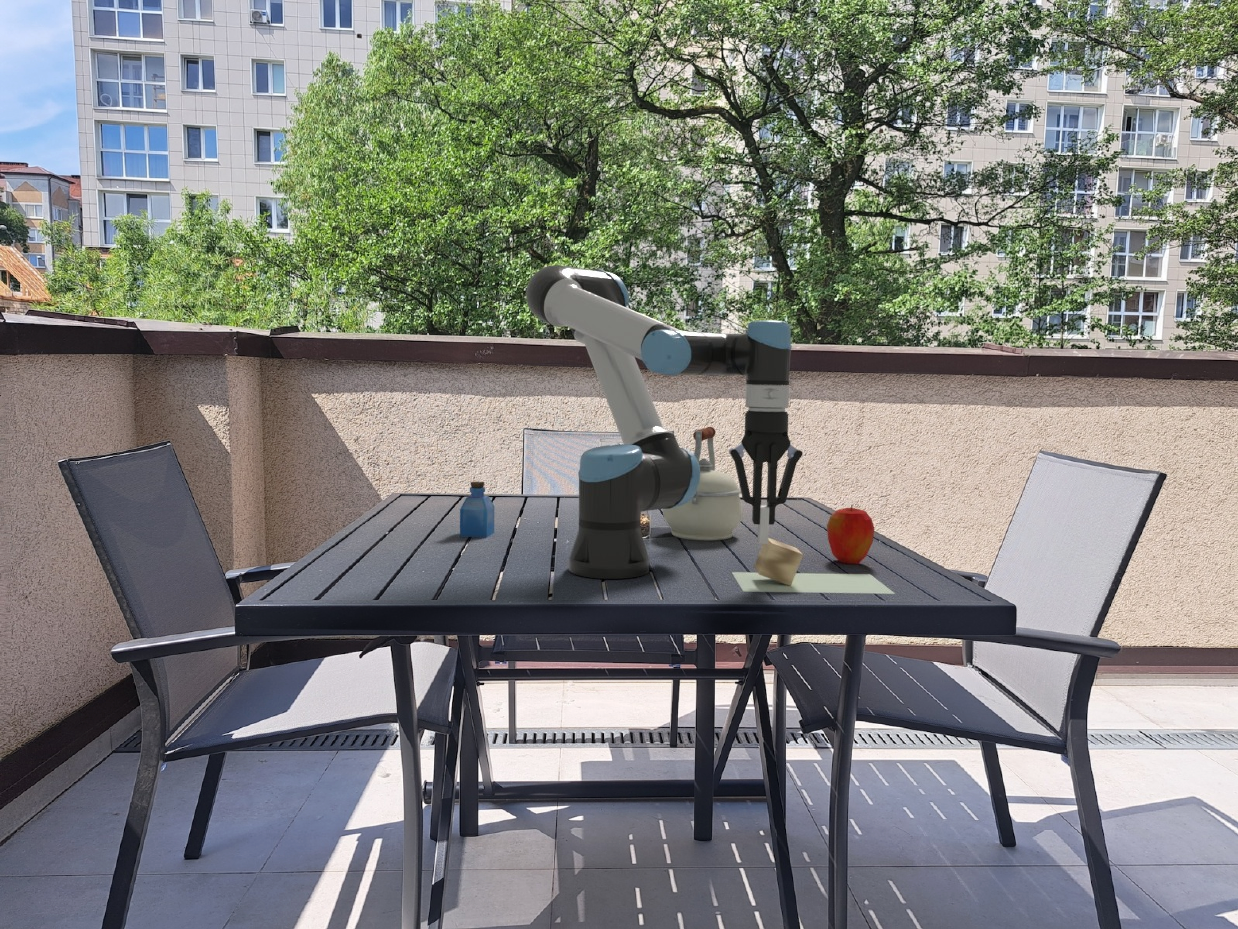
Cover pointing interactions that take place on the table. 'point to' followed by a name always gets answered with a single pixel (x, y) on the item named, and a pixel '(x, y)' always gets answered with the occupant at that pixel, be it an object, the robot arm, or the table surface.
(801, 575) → the felt mat
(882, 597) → the table surface
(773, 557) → the wooden block
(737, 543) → the table surface
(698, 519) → the kettle
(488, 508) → the blue corked bottle
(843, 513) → the apple
